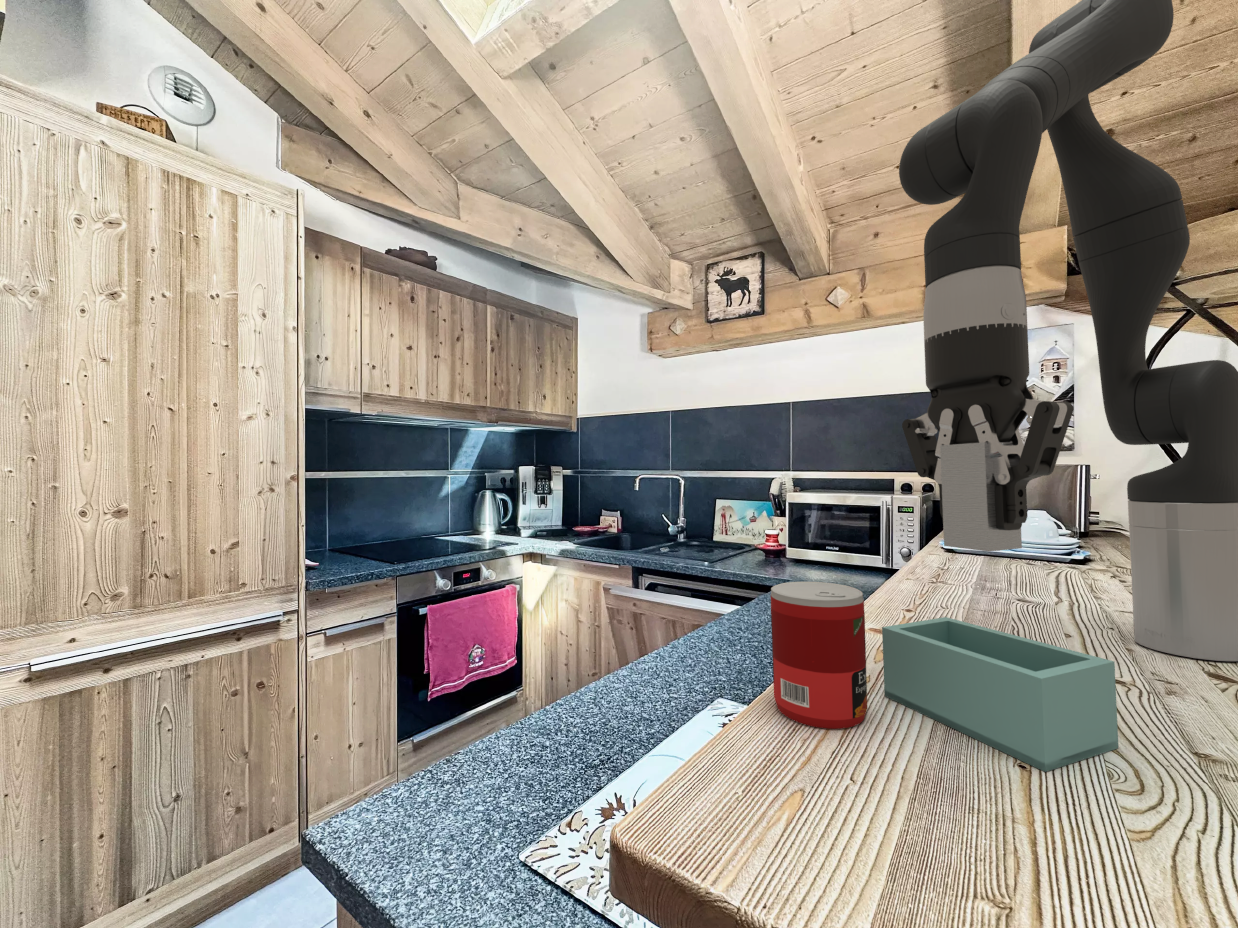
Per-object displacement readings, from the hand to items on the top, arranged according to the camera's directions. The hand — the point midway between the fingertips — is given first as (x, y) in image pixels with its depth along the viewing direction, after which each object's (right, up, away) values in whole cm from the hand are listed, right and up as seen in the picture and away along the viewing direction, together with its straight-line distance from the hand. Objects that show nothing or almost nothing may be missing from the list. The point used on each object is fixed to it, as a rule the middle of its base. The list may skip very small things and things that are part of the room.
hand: (981, 526), depth 46 cm
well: (0, -17, 0) cm, 17 cm away
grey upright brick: (0, -2, 0) cm, 2 cm away
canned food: (-13, -17, +2) cm, 22 cm away
